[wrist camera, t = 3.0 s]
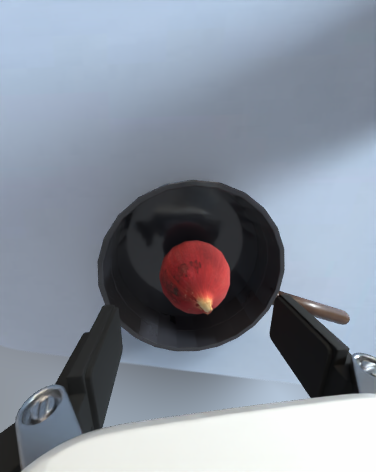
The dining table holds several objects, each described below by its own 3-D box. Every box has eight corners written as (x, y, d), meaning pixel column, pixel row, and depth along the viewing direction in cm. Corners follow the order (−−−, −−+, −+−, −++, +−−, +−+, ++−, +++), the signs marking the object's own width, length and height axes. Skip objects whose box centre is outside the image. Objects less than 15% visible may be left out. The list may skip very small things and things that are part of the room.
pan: (139, 155, 16) (128, 145, 12) (283, 213, 19) (317, 221, 15) (98, 298, 20) (78, 331, 15) (225, 329, 23) (239, 364, 18)
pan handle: (260, 297, 18) (267, 306, 17) (266, 284, 18) (274, 293, 16) (336, 319, 20) (348, 329, 18) (343, 308, 19) (356, 317, 18)
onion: (156, 277, 19) (147, 339, 12) (168, 224, 18) (168, 256, 10) (208, 286, 20) (232, 350, 13) (224, 237, 19) (262, 276, 11)
